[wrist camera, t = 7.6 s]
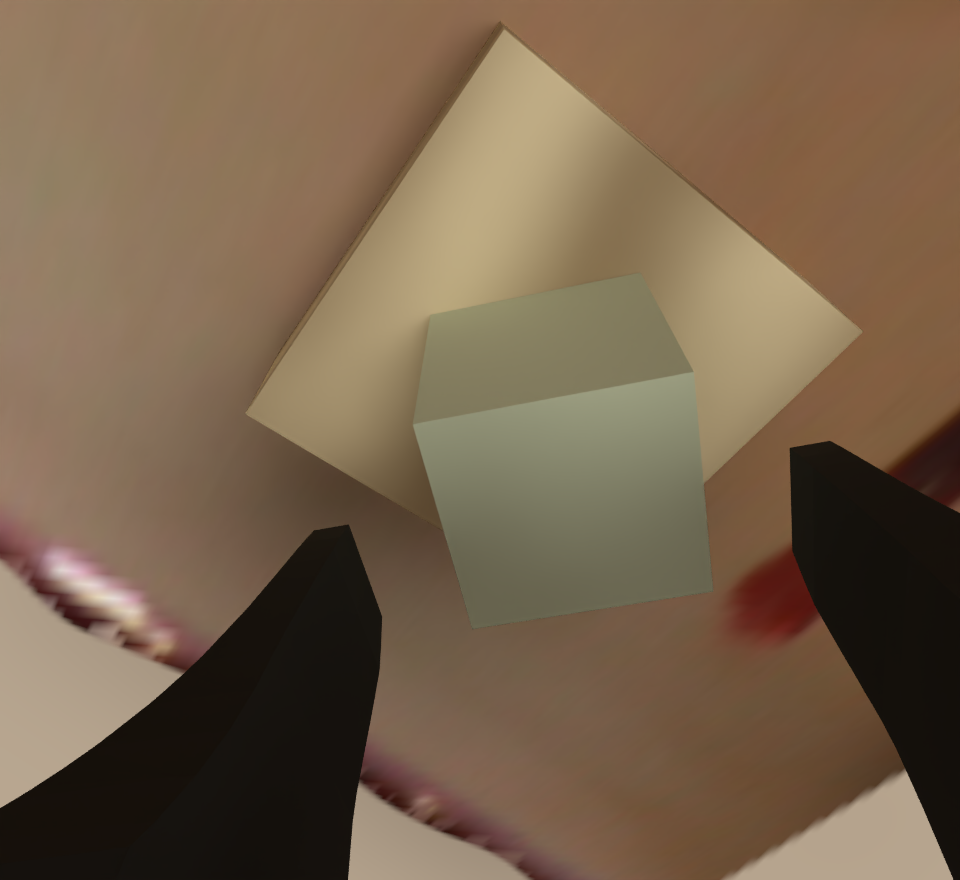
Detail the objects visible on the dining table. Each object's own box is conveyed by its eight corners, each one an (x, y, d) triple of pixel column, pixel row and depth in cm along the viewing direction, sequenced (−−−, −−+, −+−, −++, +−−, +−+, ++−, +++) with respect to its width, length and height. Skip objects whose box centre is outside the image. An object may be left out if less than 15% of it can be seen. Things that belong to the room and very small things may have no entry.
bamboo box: (800, 274, 21) (863, 331, 18) (560, 521, 25) (573, 608, 22) (500, 20, 18) (503, 28, 15) (282, 346, 22) (245, 413, 19)
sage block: (640, 272, 17) (693, 371, 13) (661, 454, 19) (713, 591, 15) (430, 314, 17) (412, 424, 13) (475, 487, 20) (472, 629, 15)
